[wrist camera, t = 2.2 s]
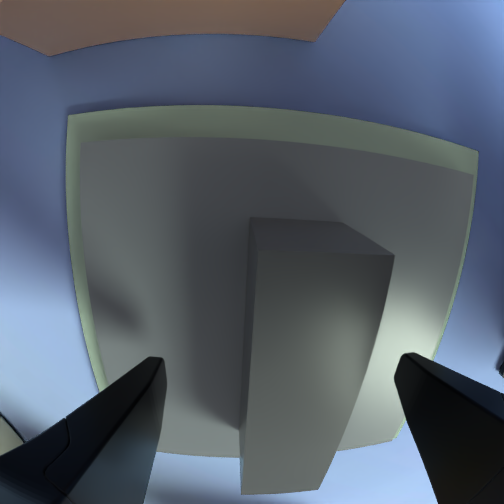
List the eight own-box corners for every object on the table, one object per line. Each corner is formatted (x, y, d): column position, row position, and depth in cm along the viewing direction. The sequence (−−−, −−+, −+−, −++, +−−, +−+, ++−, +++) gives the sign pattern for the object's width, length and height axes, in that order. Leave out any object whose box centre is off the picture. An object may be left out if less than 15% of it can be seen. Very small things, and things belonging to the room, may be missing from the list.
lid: (459, 172, 8) (540, 186, 5) (386, 429, 12) (413, 486, 8) (92, 143, 8) (12, 139, 4) (133, 434, 11) (114, 500, 7)
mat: (472, 151, 9) (478, 151, 8) (393, 433, 13) (395, 438, 12) (73, 116, 8) (68, 115, 7) (120, 437, 12) (118, 443, 11)
